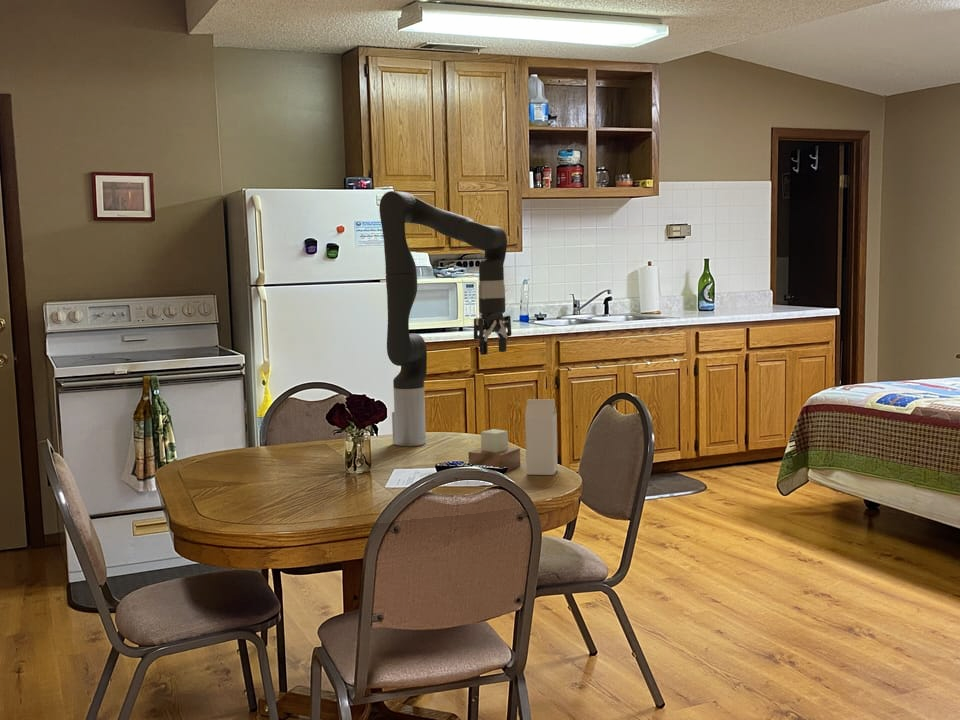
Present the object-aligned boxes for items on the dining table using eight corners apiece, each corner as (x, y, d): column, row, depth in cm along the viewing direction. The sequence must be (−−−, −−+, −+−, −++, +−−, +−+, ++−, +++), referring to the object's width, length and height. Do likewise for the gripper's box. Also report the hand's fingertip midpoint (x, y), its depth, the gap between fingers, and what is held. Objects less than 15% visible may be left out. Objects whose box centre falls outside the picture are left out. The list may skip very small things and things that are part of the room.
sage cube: (481, 450, 265) (480, 431, 265) (493, 447, 269) (492, 429, 268) (496, 452, 262) (495, 433, 261) (507, 449, 266) (507, 430, 265)
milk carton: (554, 475, 254) (552, 401, 252) (526, 475, 256) (524, 401, 254) (557, 469, 261) (556, 397, 259) (530, 469, 263) (529, 397, 261)
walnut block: (469, 471, 264) (468, 452, 264) (487, 463, 273) (487, 445, 272) (502, 474, 259) (501, 455, 259) (520, 466, 268) (519, 448, 267)
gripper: (497, 295, 293) (498, 350, 295) (465, 297, 282) (467, 354, 284) (517, 295, 289) (518, 351, 290) (486, 297, 278) (487, 356, 279)
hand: (493, 353), depth 287 cm, fingers open, 8 cm apart
